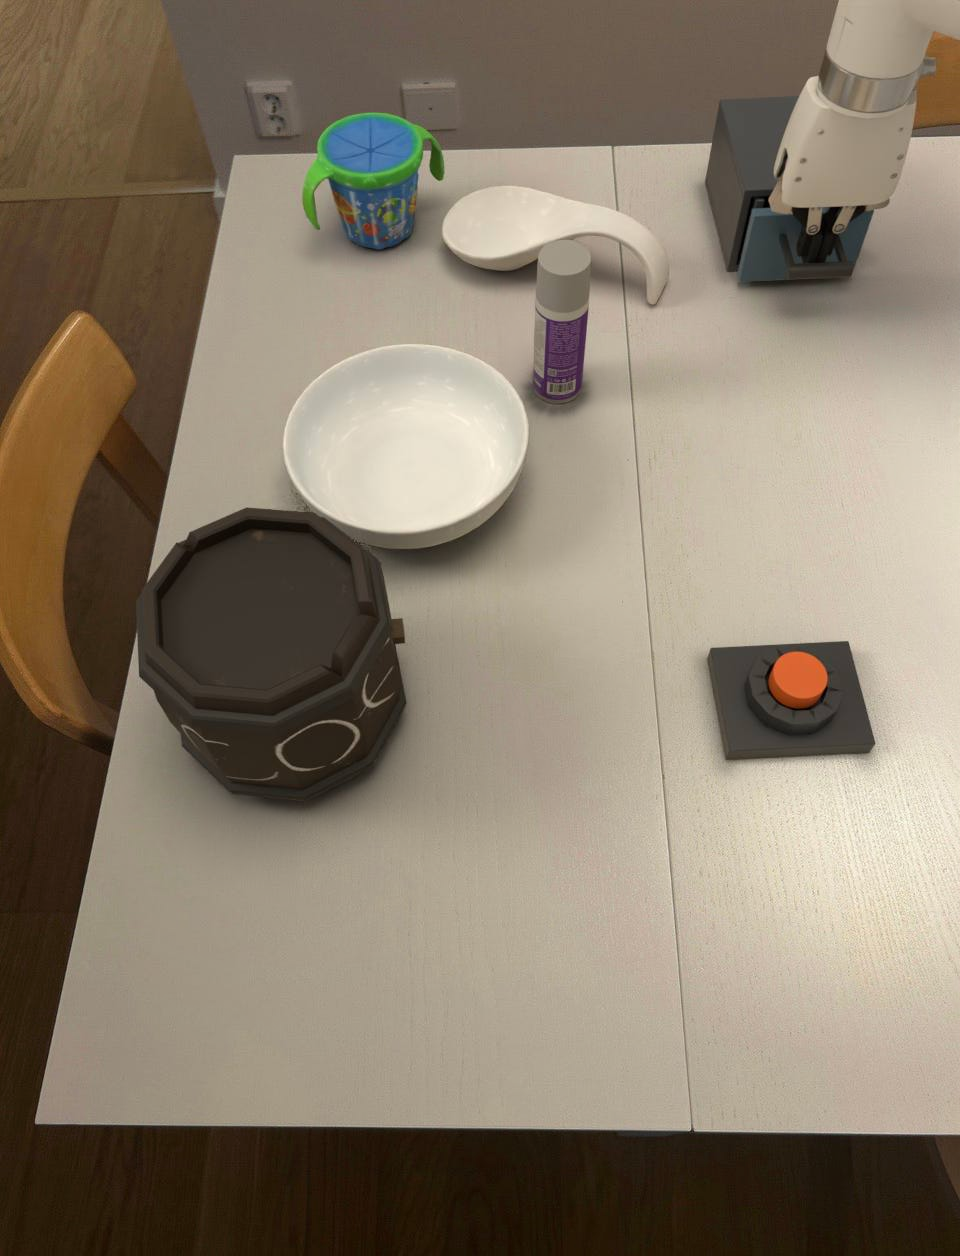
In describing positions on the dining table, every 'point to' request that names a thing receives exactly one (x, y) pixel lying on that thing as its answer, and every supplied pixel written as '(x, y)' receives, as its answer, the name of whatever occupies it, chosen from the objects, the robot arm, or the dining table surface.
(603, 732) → the dining table surface
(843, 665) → the dark grey button base
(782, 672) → the button
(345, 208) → the snack cup
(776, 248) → the blue cabinet drawer
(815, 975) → the dining table surface
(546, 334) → the container
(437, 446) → the serving bowl
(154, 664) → the dark grey faceted cylinder
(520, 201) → the spoon rest
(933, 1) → the robot arm
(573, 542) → the dining table surface
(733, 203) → the grey cabinet body
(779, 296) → the dining table surface
